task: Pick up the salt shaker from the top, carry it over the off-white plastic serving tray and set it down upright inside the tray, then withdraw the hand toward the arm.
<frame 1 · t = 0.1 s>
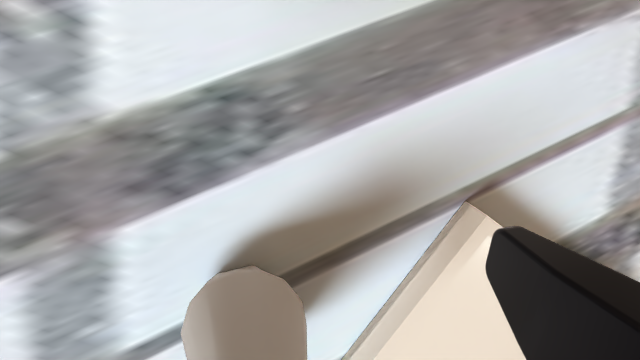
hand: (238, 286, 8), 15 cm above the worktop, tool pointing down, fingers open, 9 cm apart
salt shaker: (242, 299, 25), on the worktop
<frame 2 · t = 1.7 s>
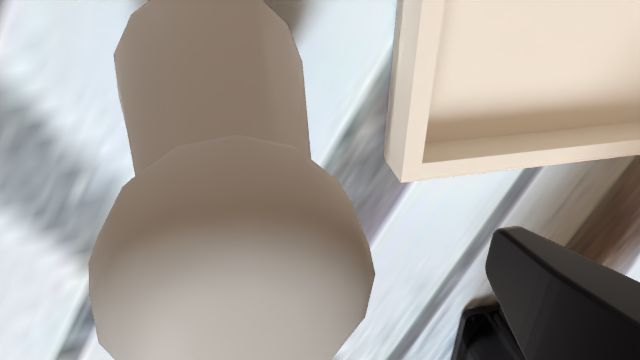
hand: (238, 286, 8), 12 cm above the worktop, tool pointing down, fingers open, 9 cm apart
salt shaker: (209, 53, 18), on the worktop
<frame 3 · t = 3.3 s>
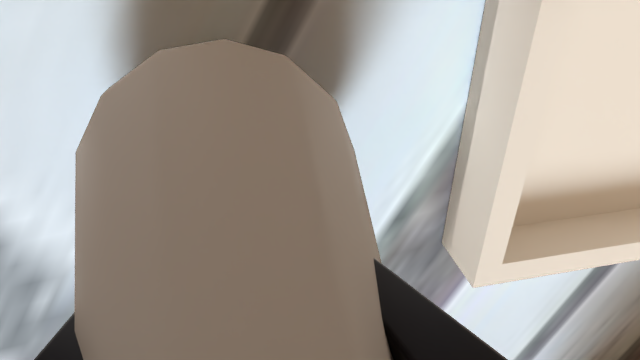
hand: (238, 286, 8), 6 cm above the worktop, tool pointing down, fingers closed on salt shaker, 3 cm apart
salt shaker: (218, 125, 13), on the worktop, touching gripper
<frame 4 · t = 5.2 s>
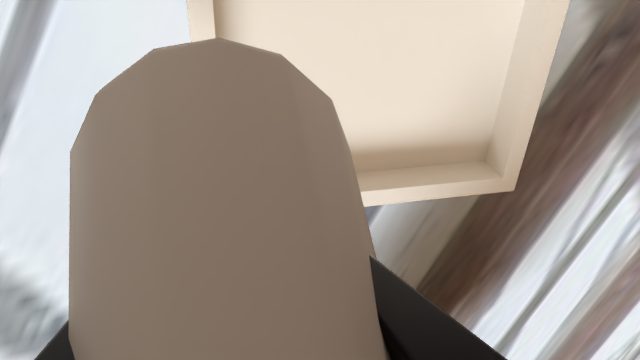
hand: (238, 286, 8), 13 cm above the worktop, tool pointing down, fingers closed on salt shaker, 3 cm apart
salt shaker: (214, 124, 13), point 7 cm above the worktop, touching gripper
tray: (373, 5, 19), on the worktop
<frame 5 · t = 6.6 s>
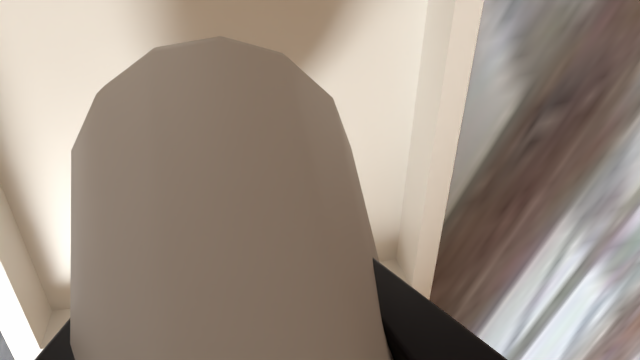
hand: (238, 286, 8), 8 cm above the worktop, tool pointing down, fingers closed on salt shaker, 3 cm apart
salt shaker: (215, 123, 13), point 2 cm above the worktop, touching gripper
tray: (214, 91, 14), on the worktop
when the fingers open (7 cm above the worktop, at t = 7.4 s): salt shaker stays where it is, resting on tray.
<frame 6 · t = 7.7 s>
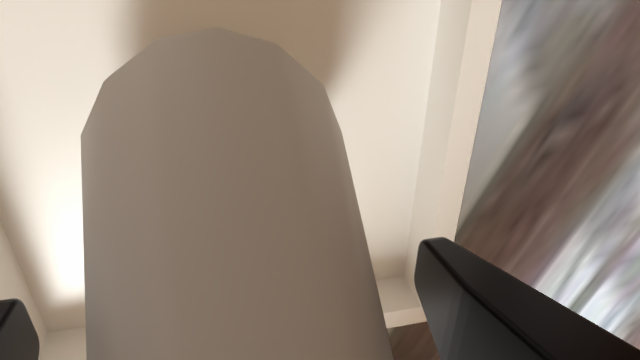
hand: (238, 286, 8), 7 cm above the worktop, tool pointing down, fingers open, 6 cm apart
salt shaker: (214, 113, 13), resting on tray
tray: (216, 105, 14), on the worktop
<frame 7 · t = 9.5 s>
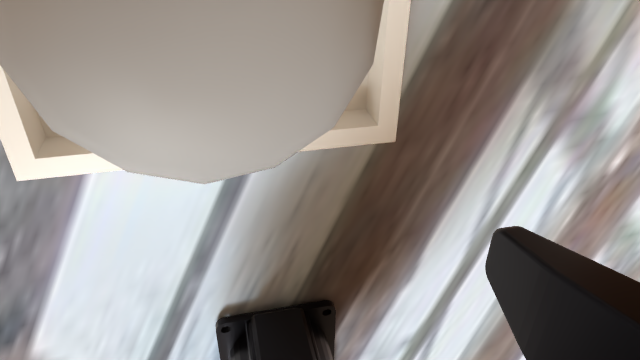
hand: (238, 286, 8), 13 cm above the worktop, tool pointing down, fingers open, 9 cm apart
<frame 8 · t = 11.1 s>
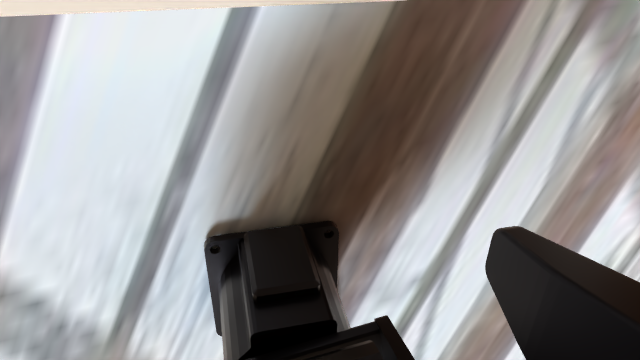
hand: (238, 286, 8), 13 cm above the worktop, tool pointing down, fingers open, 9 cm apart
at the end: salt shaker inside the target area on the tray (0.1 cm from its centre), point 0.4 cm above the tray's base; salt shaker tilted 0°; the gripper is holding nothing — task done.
